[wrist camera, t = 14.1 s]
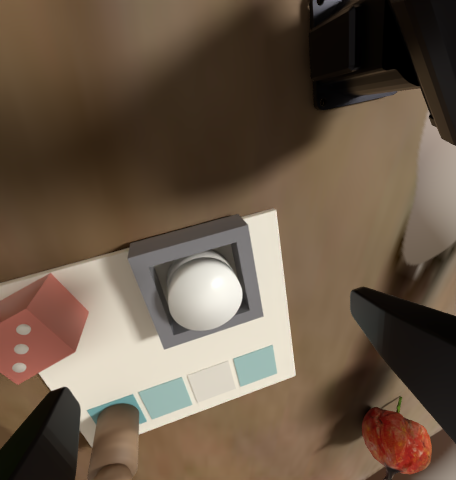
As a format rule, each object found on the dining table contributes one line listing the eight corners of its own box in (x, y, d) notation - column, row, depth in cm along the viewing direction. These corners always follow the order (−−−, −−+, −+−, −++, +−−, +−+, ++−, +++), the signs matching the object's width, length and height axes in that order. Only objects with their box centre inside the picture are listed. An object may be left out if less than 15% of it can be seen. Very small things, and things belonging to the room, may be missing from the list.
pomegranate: (372, 372, 37) (351, 448, 31) (440, 398, 33) (429, 492, 27) (372, 398, 41) (353, 469, 35) (432, 424, 37) (422, 511, 31)
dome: (224, 240, 20) (235, 258, 18) (236, 294, 22) (247, 317, 20) (157, 259, 19) (158, 280, 17) (176, 313, 22) (179, 339, 19)
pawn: (134, 398, 25) (129, 491, 18) (143, 422, 26) (141, 515, 20) (91, 411, 24) (72, 512, 18) (103, 435, 25) (89, 535, 19)
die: (50, 272, 19) (25, 309, 15) (89, 311, 20) (75, 352, 17) (-3, 301, 18) (-40, 346, 15) (41, 338, 20) (17, 385, 17)
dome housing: (238, 214, 20) (248, 224, 18) (253, 298, 24) (263, 316, 22) (130, 243, 19) (127, 258, 17) (163, 328, 23) (164, 349, 20)
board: (273, 208, 21) (276, 210, 21) (293, 371, 30) (296, 376, 29) (-17, 287, 18) (-22, 292, 18) (95, 445, 27) (94, 452, 26)
